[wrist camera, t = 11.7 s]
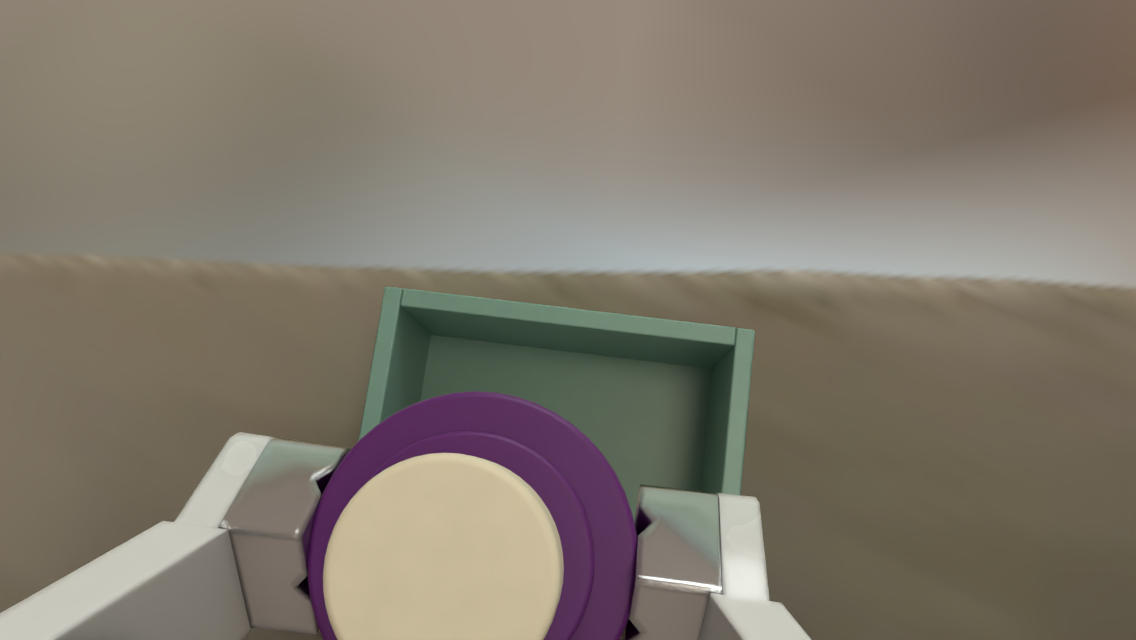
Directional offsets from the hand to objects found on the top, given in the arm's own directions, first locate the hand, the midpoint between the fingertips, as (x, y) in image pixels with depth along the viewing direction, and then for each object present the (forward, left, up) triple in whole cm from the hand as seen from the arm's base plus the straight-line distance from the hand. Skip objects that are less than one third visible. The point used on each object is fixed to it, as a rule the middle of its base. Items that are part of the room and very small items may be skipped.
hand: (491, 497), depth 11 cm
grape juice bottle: (0, +1, -4) cm, 4 cm away
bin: (0, -1, -16) cm, 16 cm away
